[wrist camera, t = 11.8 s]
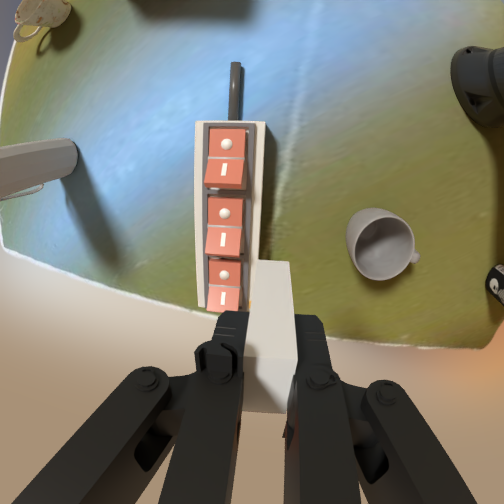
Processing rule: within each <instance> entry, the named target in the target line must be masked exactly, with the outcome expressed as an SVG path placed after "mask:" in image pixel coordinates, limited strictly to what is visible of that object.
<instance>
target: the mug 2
mask: <svg viewBox="0 0 504 504" xmlns="http://www.w3.org/2000/svg"><path fill="white" fill-rule="evenodd" d="M346 244H347V248H348V252H349V255H350V257H351V259H352V261H353V263H354V265H355V266H356V268H357V269H358V270H359V272H360V273H361V274H362V275H364V276H365V277H367V278H369V279H372V280H387V279H390V278H393V277H395V276H396V275H398V274H399V273H401V272H402V271H403V270H404V269H405V268H406V267H407V265H408V264H409V262H411V263H414V264H416V263H417V262H418V261H419V259H420V254H419V253H418V252H417V251H416V250H415V249H414V247H415V240H414V235H413V232H412V230H411V228H410V226H409V225H408V224H407V223H406V222H405V221H404V220H403V219H402V218H400V217H399V216H397V215H395V214H394V213H392V212H389V211H387V210H384V209H380V208H367V209H363V210H361V211H358V212H357V213H355V214H354V215H353V216H352V217H351V219H350V221H349V223H348V226H347V229H346Z"/></svg>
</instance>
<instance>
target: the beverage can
mask: <svg viewBox="0 0 504 504" xmlns="http://www.w3.org/2000/svg"><path fill="white" fill-rule="evenodd" d="M486 288H487V290H488V291H489V292H490V293H491V294H492V295H493V296H494V297H495V298H496V299H497V300H498V301H499V302H500V303H501V304H502V305H503V306H504V265H502V264H499V265H497V266H494V267H493V268H492V269H491V270H490V272H489V274H488V276H487V279H486Z"/></svg>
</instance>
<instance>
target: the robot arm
mask: <svg viewBox="0 0 504 504" xmlns="http://www.w3.org/2000/svg"><path fill="white" fill-rule="evenodd" d="M451 79H452V84H453V87H454V91H455V93H456V96H457V98H458V100H459V102H460V104H461V106H462V107H463V109H464V110H465V112H466V113H467V114H468V115H469V116H470V117H471V118H472V119H473V120H474V121H475V122H476V123H478V124H479V125H481V126H484V127H491V128H498V127H502V126H504V47H503V48H499V49H495V50H493V49H488V48H483V47H477V46H468V47H465V48H462V49H460V50H458V51H457V52H456V53H455V54H454V56H453V58H452V62H451ZM324 333H325V332H324V327H323V323H322V322H321V321H320V320H319V318H318V317H317V316H316V315H301V314H294V308H293V298H292V287H291V278H290V268H289V262H286V261H271V260H257V265H256V272H255V279H254V286H253V293H252V300H251V307H250V312H242V311H230V310H225V311H224V312H223V313H222V314H221V315H220V316H219V317H218V320H217V323H216V328H215V330H214V334H213V337H212V340H211V341H207V342H205V343H203V344H201V345H200V346H198V347H197V349H196V350H195V352H194V354H195V362H196V370H197V371H196V372H194V373H192V374H189V375H185V376H175V377H168V376H167V374H166V373H165V372H164V371H162V370H161V369H159V368H156V367H152V366H149V367H141V368H138V369H135V370H134V371H133V372H131V373H130V374H129V375H128V376H127V377H126V378H125V379H124V380H123V381H122V382H121V383H120V385H119V386H118V387H117V388H116V389H115V390H114V391H113V392H112V393H111V394H110V395H109V396H108V398H107V399H106V400H105V401H104V402H103V403H102V404H101V405H100V406H99V407H98V408H97V410H96V411H95V412H94V413H93V414H92V415H91V416H90V417H89V418H88V419H87V420H86V422H85V423H84V424H83V425H82V426H81V427H80V428H79V429H78V430H77V431H76V432H75V434H74V435H73V436H72V437H71V438H70V439H69V440H68V441H67V442H66V443H65V445H64V446H63V447H62V448H61V449H60V450H59V451H58V452H57V453H56V454H55V456H54V457H53V458H52V459H51V460H50V461H49V462H48V463H47V464H46V466H45V467H44V468H43V469H42V470H41V471H40V472H39V473H38V475H37V476H36V477H35V478H34V479H33V480H32V481H31V482H30V483H29V485H28V486H27V487H26V488H25V489H24V490H23V491H22V492H21V493H20V495H19V496H18V497H17V498H16V499H15V500H14V501H13V503H12V504H135V503H136V501H137V500H138V499H139V497H140V496H141V494H142V493H143V491H144V490H145V488H146V487H147V485H148V484H149V482H150V481H151V479H152V478H153V476H154V475H155V473H156V472H157V470H158V469H159V467H160V466H161V464H162V463H163V461H164V460H165V458H166V457H167V455H168V454H169V452H170V450H171V449H172V447H173V446H174V444H175V446H174V450H173V453H172V456H171V460H170V463H169V467H168V470H167V474H166V477H165V481H164V484H163V488H162V491H161V495H160V498H159V502H158V504H230V503H231V497H232V490H233V481H234V474H235V466H236V459H237V451H238V444H239V436H240V428H241V414H242V411H248V412H262V413H281V414H285V413H286V410H287V421H286V426H285V429H284V433H283V436H282V437H283V438H285V475H284V504H361V497H360V489H359V483H360V485H361V487H362V490H363V492H364V494H365V497H366V499H367V501H368V503H369V504H477V502H476V501H475V499H474V497H473V495H472V494H471V492H470V490H469V489H468V487H467V485H466V484H465V482H464V480H463V479H462V477H461V475H460V474H459V472H458V471H457V469H456V467H455V466H454V464H453V462H452V461H451V459H450V458H449V456H448V455H447V453H446V451H445V450H444V448H443V447H442V445H441V444H440V442H439V441H438V439H437V437H436V436H435V435H434V433H433V432H432V430H431V428H430V427H429V425H428V424H427V423H426V421H425V419H424V418H423V416H422V415H421V414H420V412H419V411H418V409H417V408H416V406H415V405H414V403H413V402H412V400H411V399H410V398H409V396H408V395H407V393H406V392H405V390H404V389H403V388H402V387H401V386H400V385H399V384H396V383H395V382H393V381H389V380H377V381H375V382H373V383H371V384H370V386H369V387H368V388H362V387H357V386H353V385H350V384H347V383H345V382H343V381H341V380H340V378H339V376H338V374H337V373H336V372H334V371H333V369H332V366H331V360H330V355H329V351H328V346H327V341H326V336H325V334H324Z"/></svg>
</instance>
